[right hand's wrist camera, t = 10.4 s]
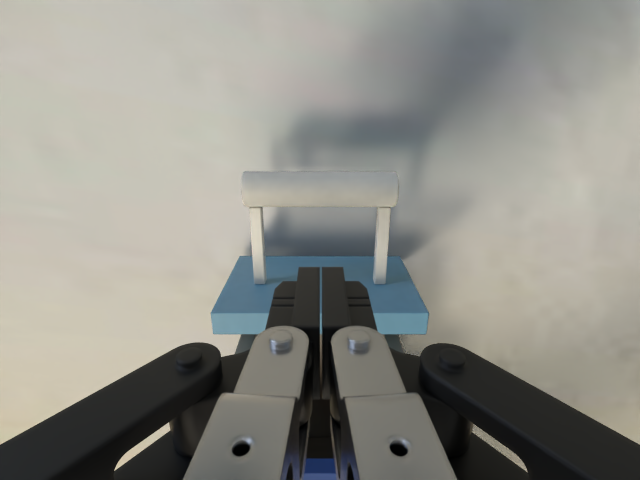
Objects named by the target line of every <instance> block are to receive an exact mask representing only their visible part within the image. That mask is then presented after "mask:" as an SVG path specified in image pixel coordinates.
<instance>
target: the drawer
mask: <svg viewBox="0 0 640 480" xmlns="http://www.w3.org/2000/svg"><path fill="white" fill-rule="evenodd" d="M398 195H399V180H398V175H397V172H395V171H245V172H243V174H242V178H241V197H242V202H243V205H244V206H245V207H249V217H250V231H251V245H252V256H240V257H239V259H238V261H237V263H236V265H235V267H234V269H233V271H232V272H231V274H230V276H229V278H228V280H227V282H226V284H225V286H224V288H223V290H222V292H221V294H220V296H219V298H218V300H217V302H216V304H215V306H214V308H213V310H212V312H211V319H212V327H213V334H241V337H240V340H239V343H238V346H237V349H236V352H235V354H238V353H242V352H244V351H247V350H249V349H251V347H252V344H253V342H254V339H255V338H256V336H257V335H258V334H259V333H261V332H262V331H264V330H265V328H266V324H267V319H268V315H269V311H270V307H271V303H272V299H273V294H274V290H275V288H276V287H277V286H278V285H279V284H280V283H281V282H282V281H297V276H298V269H299V267H320V399H313V400H312V413H311V416H310V429H309V437H308V446H307V454H306V458H334V454H333V446H332V437H331V429H330V399H322V267H343V269H344V277H345V281H359V282H361V283H362V284H363V285H364V286H365V287H366V288H367V290H368V294H369V299H370V302H371V307H372V310H373V314H374V318H375V322H376V326H377V330H378V332H379V333H381V334H382V335H383V336H384V338H385V339H386V342H387V344H388V346H389V347H390V348H392V349H394V350H396V351H399V352H401V353H404V350H403V347H402V344H401V341H400V338H399V335H398V334H426V332H427V324H428V316H429V312H428V310H427V308H426V306H425V304H424V303H423V301H422V299H421V297H420V295H419V293H418V291H417V289H416V287H415V285H414V283H413V281H412V279H411V277H410V275H409V273H408V271H407V269H406V267H405V265H404V264H403V262H402V260H401V258H400V256H387V255H388V242H389V228H390V214H391V208H390V207H395V206H396V204H397V201H398ZM263 207H377V219H376V236H375V253H374V256H265V242H264V225H263Z"/></svg>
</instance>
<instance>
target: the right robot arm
mask: <svg viewBox="0 0 640 480" xmlns="http://www.w3.org/2000/svg"><path fill="white" fill-rule="evenodd" d="M313 399H320V267H299V269H298V276H297V281H282V282H281V283H280V284H279V285H278V286H277V287H276V288H275V290H274V294H273V299H272V303H271V307H270V311H269V315H268V319H267V324H266V328H265V330H264V331H262V332H261V333H259V334H258V335H257V336H256V338H255V339H254V342H253V344H252V347H251V349H249V350H247V351H244V352H242V353H238V354H234V355H229V356H225V357H221V354H220V351H219V350H218V348H216V347H215V346H213V345H211V344H208V343H190V344H185V345H182V346H179V347H177V348H175V349H173V350H171V351H169V352H168V353H166V354H164V355H162V356H160V357H159V358H157V359H155V360H153V361H151V362H149V363H148V364H146V365H144V366H142V367H140V368H139V369H137V370H135V371H133V372H131V373H130V374H128V375H126V376H124V377H122V378H120V379H119V380H117V381H115V382H113V383H111V384H110V385H108V386H106V387H104V388H102V389H101V390H99V391H97V392H95V393H93V394H92V395H90V396H88V397H86V398H84V399H82V400H81V401H79V402H77V403H75V404H73V405H72V406H70V407H68V408H66V409H64V410H63V411H61V412H59V413H57V414H55V415H53V416H52V417H50V418H48V419H46V420H44V421H43V422H41V423H39V424H37V425H35V426H34V427H32V428H30V429H28V430H26V431H24V432H23V433H21V434H19V435H17V436H15V437H14V438H12V439H10V440H8V441H6V442H5V443H3V444H1V445H0V480H303V479H304V471H305V462H306V454H307V446H308V437H309V429H310V416H311V413H312V400H313ZM322 399H330V429H331V437H332V446H333V454H334V462H335V471H336V479H337V480H640V445H639V444H637V443H635V442H634V441H632V440H630V439H628V438H626V437H625V436H623V435H621V434H619V433H617V432H616V431H614V430H612V429H610V428H608V427H606V426H605V425H603V424H601V423H599V422H597V421H596V420H594V419H592V418H590V417H588V416H587V415H585V414H583V413H581V412H579V411H577V410H576V409H574V408H572V407H570V406H568V405H567V404H565V403H563V402H561V401H559V400H558V399H556V398H554V397H552V396H550V395H549V394H547V393H545V392H543V391H541V390H539V389H538V388H536V387H534V386H532V385H530V384H529V383H527V382H525V381H523V380H521V379H520V378H518V377H516V376H514V375H512V374H510V373H509V372H507V371H505V370H503V369H501V368H500V367H498V366H496V365H494V364H492V363H491V362H489V361H487V360H485V359H483V358H481V357H480V356H478V355H476V354H474V353H472V352H471V351H469V350H467V349H465V348H463V347H460V346H457V345H453V344H446V343H438V344H433V345H430V346H428V347H426V348H425V349H424V350H423V351H422V353H421V357H419V356H414V355H409V354H405V353H401V352H399V351H396V350H394V349H392V348H390V347H389V346H388V344H387V342H386V339H385V338H384V336H383V335H382V334H381V333H379V332H378V330H377V326H376V322H375V318H374V314H373V310H372V307H371V302H370V299H369V294H368V290H367V288H366V287H365V286H364V285H363V284H362V283H361V282H359V281H345V277H344V269H343V267H322ZM168 422H169V425H170V431H169V432H168V433H166V434H165V435H164V436H162V437H161V438H159V439H158V440H157V441H155V442H154V443H153V444H151V445H150V446H148V447H147V448H146V449H144V450H143V451H142V452H140V453H139V454H137V455H136V456H135V457H133V458H132V459H131V460H129V461H128V462H126V463H125V464H124V465H122V466H121V467H120V468H118V469H117V470H115V471H114V469H115V467H116V465H117V463H118V461H119V460H120V458H121V457H122V456H123V455H124V454H125V453H126V452H127V451H129V450H130V449H131V448H133V447H134V446H136V445H137V444H138V443H140V442H141V441H143V440H144V439H146V438H147V437H148V436H150V435H151V434H153V433H154V432H155V431H157V430H158V429H160V428H161V427H163V426H164V425H165V424H167V423H168ZM473 424H475V425H476V426H477V427H479V428H480V429H482V430H483V431H485V432H486V433H487V434H489V435H490V436H492V437H493V438H494V439H496V440H497V441H499V442H500V443H502V444H503V445H504V446H506V447H507V448H509V449H510V450H511V451H513V452H514V453H515V454H516V455H518V456H519V458H520V459H521V460H522V461H523V463H524V464H525V466H526V468H527V470H528V473H527V472H526V471H525V470H523V469H522V468H520V467H519V466H518V465H516V464H515V463H514V462H512V461H511V460H509V459H508V458H507V457H505V456H504V455H503V454H501V453H500V452H498V451H497V450H496V449H494V448H493V447H492V446H490V445H489V444H487V443H486V442H485V441H483V440H482V439H481V438H479V437H478V436H476V435H475V434H474V433H472V428H473Z"/></svg>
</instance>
